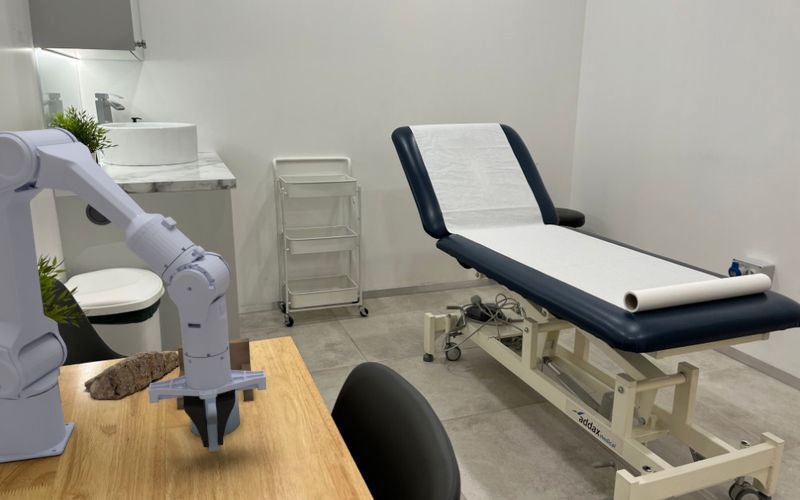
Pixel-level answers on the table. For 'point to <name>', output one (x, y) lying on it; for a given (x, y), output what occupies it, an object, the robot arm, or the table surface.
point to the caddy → (237, 362)
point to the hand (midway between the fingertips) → (213, 442)
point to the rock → (131, 374)
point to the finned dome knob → (213, 424)
